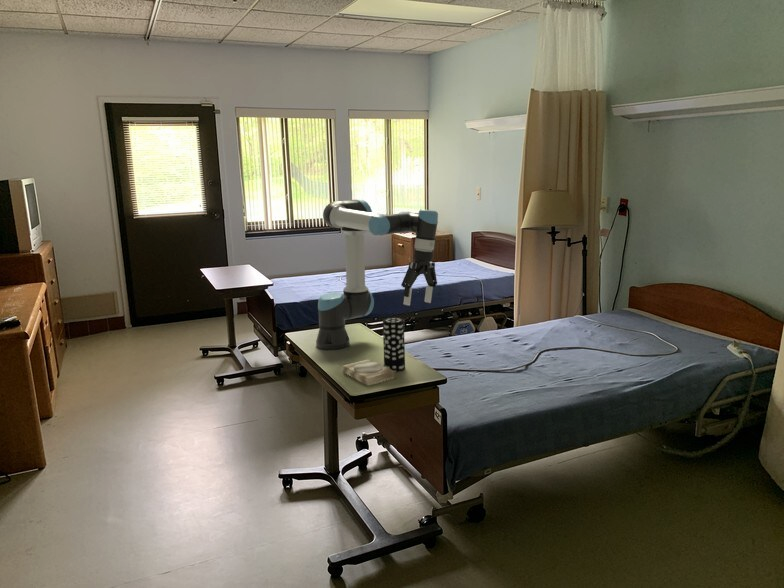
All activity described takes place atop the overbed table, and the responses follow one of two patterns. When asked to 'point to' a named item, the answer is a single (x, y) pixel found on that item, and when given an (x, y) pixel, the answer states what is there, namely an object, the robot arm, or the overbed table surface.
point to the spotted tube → (394, 344)
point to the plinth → (368, 372)
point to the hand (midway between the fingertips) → (417, 303)
